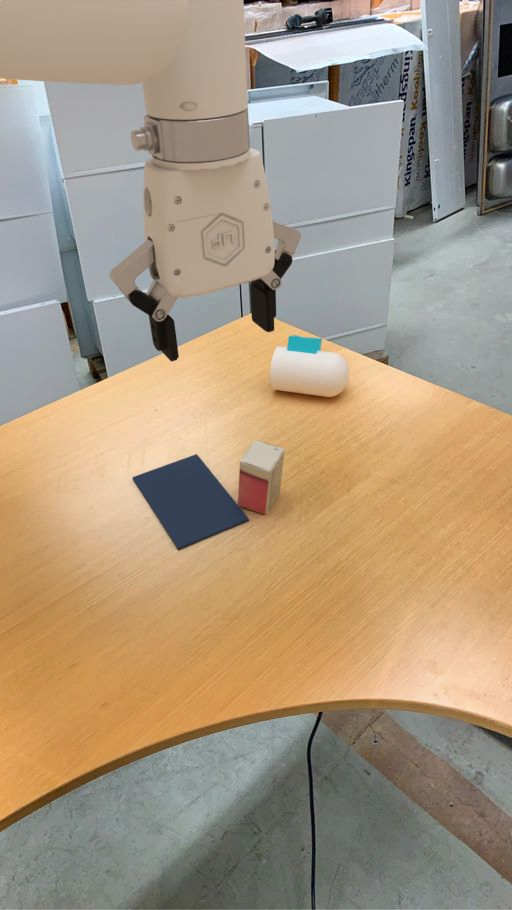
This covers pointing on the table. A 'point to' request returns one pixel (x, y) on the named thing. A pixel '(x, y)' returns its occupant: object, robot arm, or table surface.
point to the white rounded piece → (308, 368)
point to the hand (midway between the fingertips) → (217, 340)
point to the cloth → (189, 501)
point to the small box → (260, 476)
